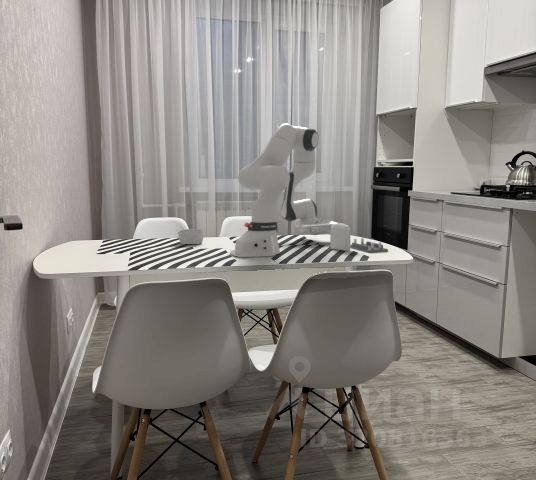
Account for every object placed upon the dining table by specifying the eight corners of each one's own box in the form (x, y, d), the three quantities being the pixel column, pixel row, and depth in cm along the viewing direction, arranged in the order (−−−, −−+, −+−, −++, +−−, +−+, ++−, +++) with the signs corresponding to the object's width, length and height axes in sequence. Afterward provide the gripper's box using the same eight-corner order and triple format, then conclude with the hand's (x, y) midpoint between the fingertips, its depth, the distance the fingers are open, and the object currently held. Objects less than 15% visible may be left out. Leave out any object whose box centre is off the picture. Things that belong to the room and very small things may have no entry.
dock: (368, 252, 209) (369, 244, 208) (347, 247, 225) (347, 238, 225) (387, 251, 213) (387, 242, 212) (365, 245, 229) (365, 237, 229)
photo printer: (328, 248, 221) (329, 222, 219) (335, 247, 224) (335, 222, 222) (345, 251, 213) (345, 224, 211) (351, 250, 216) (352, 223, 214)
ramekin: (173, 245, 237) (172, 231, 236) (185, 241, 250) (184, 228, 249) (197, 246, 234) (197, 232, 233) (208, 242, 246) (207, 229, 245)
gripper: (295, 221, 238) (307, 224, 225) (331, 219, 245) (344, 221, 233) (295, 233, 239) (307, 237, 226) (331, 231, 246) (344, 234, 234)
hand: (326, 229), depth 229 cm, fingers open, 8 cm apart
